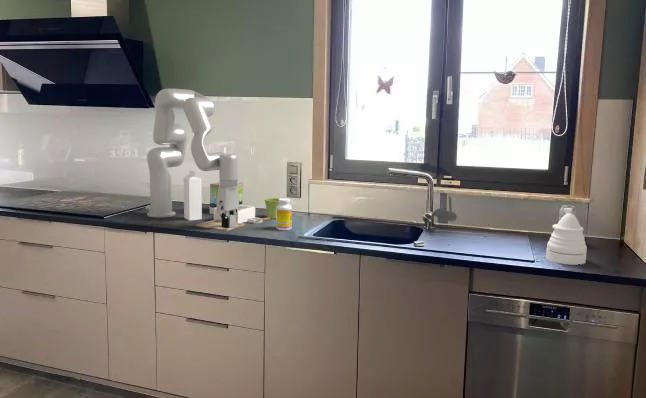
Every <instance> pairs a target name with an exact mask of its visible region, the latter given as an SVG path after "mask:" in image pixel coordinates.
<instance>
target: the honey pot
mask: <svg viewBox="0 0 646 398" xmlns="http://www.w3.org/2000/svg"><path fill="white" fill-rule="evenodd" d="M564 210H565V213H566V215H564V216H563V217H562V218H561V219H560V221H559V220H558V223H555V224H552V228H553V232H552V233H551V235H550V237H549V240H548V241H547V244H546V251H545V252H546V254H545V259H546V260H547V261H551V262H552V263H558V264H562V265H570V266H571V265H572V266H575V265H577V266H579V265H578V264H580V265H584V264H586V260H587V251H588V249H587V248H588V247H587V244H586V241H585V238H586V237H585V236H584V233H583V231H584V227H583V226H581V224H580V222H579V219H578V218H577V216H576V217H575V216H574V215H573V214H571V212H572V209H571V208H564Z"/></svg>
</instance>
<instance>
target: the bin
mask: <svg viewBox="0 0 646 398" xmlns="http://www.w3.org/2000/svg"><path fill="white" fill-rule="evenodd" d="M217 211H218V210H217V207H216V208H214V214H213V220H221V216H220V214H218V213H217ZM224 214H225V212H224ZM228 214H229V211H228ZM255 217H256V206H251V205H243V204H242V205H239V209H238V211H237V213H236V223H243V224H244V223H246V222H247V219H249V218H255Z"/></svg>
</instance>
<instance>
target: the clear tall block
mask: <svg viewBox="0 0 646 398" xmlns="http://www.w3.org/2000/svg"><path fill="white" fill-rule="evenodd" d="M564 208H571V209H572V212H571V214H573V215H574V216H575V217H576V218H577V216H576V215H577V209H576V206H575V205H569V204H562V205H561V207H560V208H559V212H558V213H559V215H558V222H559V221H560V219H561V218H562V217H563V216H564V215H566V213H565V210H564Z"/></svg>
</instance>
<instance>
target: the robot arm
mask: <svg viewBox="0 0 646 398" xmlns="http://www.w3.org/2000/svg"><path fill="white" fill-rule="evenodd" d="M154 100H155V101H154V105H155V115H154V116H155V117H154V125H153V132H152V133H153V134H152V139H153V142H154V143H155V144H156V145H159V147H153V148H151V149H150V150H148V152H147V154H146V161H147V166H148V172H149V193H150V194H149V196H150V198H149V200H150V204H148V205H147V206H145V210H147V211H148V212H147V214H146V215H147V217H150V218H163V219H164V218H171V217H174V216H176V211H173V199H172V198H173V197H172V195H173V194H172V193H173V192H172V191H173V190H172V176H171V173H170V171H169V169H168V168H176V167H180V166H181V165H182V164H183V163H184V160H185V155H186V148H187V141H188V139H187V138H188V133H187V130H186V128H185V127H184V126H183V125H181V124H178V123H175V120H176V115H175V112H174V109H181V110H182V109H183V112H184V113H185V117H186V120H187V121H188V122H187V123H188V124H189V127H190V130H191V132H192V134H193V135H192V138H191V144H190V151H191V156H192V158H193V160H194V162H195V165H196V167H197V168H198V169H199V170H200V171H203V172H211V171H212V172H213V171H219V173H218V175H219V177H218V179H219V181H218V182H219V188H218V193H217V210H218V211H217V213H218V214H220V216H221V218H222V227H224V228H228V227H229V218H228V211H229V214H232V215H236V213H237V211H238V209H239V193H238V186H237V182H238V156H237V155H236V154H233V153H224V152H207V151H206V148H205V145H204V138H205V137H206V136H208V135H209V134H211V133H212V131H213V126H212V123H211V121H210V119H209V117H212V116H213V115H214V113H215V103H214V102H213V100H212V99H210V98H209V97H208V96H205V95H203V94H201V93H199V92H197V91H195V90H191V89H182V88H181V89H180V88H164V89H163V88H162V89H161V90H159V91H158V93H156V96H155V99H154ZM224 212H225V214H224Z"/></svg>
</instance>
